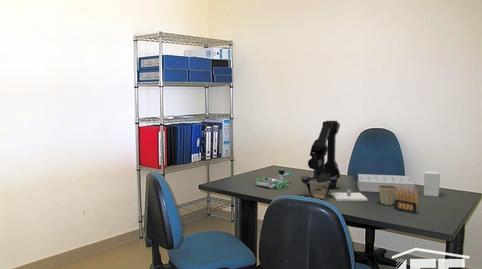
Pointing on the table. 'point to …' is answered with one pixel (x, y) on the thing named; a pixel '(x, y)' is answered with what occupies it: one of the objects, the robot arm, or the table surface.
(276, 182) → the robot kit
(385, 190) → the flower pot
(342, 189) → the table surface
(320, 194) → the jaw block
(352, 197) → the jaw base
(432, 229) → the table surface
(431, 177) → the supplement box
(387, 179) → the warehouse
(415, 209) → the ammunition clip
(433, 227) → the table surface
